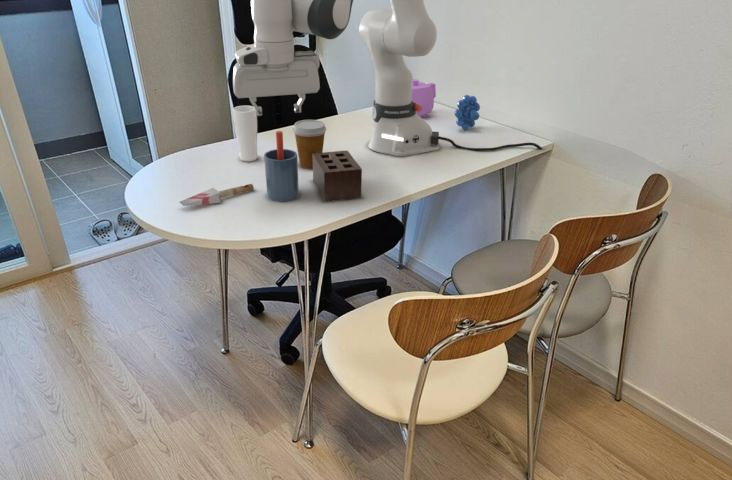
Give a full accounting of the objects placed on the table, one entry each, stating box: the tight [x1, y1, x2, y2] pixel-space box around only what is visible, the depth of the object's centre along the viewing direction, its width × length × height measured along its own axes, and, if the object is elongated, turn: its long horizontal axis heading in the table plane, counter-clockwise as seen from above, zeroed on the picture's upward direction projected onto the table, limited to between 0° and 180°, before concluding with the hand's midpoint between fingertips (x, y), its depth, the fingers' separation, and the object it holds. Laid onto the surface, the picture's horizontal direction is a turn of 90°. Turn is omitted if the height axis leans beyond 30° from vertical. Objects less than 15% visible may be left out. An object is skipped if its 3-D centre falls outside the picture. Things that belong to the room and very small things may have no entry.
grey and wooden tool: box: [178, 183, 255, 207], centre depth 142 cm, size 4×3×20 cm
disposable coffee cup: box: [292, 119, 327, 170], centre depth 160 cm, size 10×10×12 cm
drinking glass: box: [232, 105, 259, 162], centre depth 163 cm, size 7×7×15 cm
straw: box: [275, 130, 284, 160], centre depth 141 cm, size 2×2×16 cm
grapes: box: [454, 94, 481, 131], centre depth 188 cm, size 12×7×12 cm, turn 126°
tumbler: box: [263, 148, 300, 203], centre depth 143 cm, size 8×8×11 cm
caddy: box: [312, 150, 363, 203], centre depth 147 cm, size 10×14×8 cm
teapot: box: [411, 78, 437, 118], centre depth 201 cm, size 20×12×13 cm, turn 122°
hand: (278, 113), depth 134 cm, fingers open, 8 cm apart
